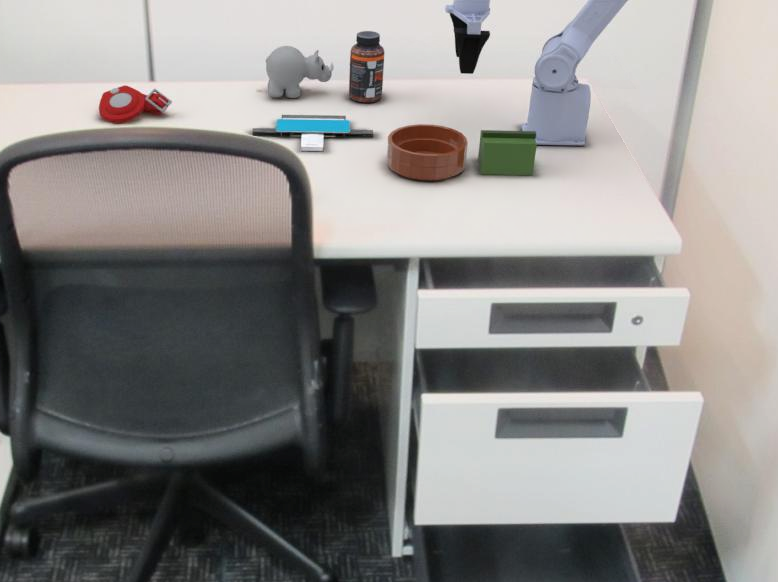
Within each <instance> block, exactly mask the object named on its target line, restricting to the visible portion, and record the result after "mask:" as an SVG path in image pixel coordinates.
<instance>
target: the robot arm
mask: <svg viewBox="0 0 778 582" xmlns="http://www.w3.org/2000/svg"><path fill="white" fill-rule="evenodd" d="M628 1H629V0H587V2H586V3H585V4H584V5H583V7H582V8H581V9H580V10H579V12H578V13H577V14H576V16H575V17H574V18H573V19H572V20H571V21H570V22H568V24H567V25H566V26H565V27H564V28H563V30H562V31H561V32H559V33H556V34H554V35H553V36H551V37H550V38H549V39H547V40H546V41H545V43H544V44H543V47H542V49H541V53H540V56H539V58H538V59H537V60H536V62H535V64H534V77H533V78H532V85H531V91H530V99H529V107H528V115H527V120H526V121H527V123H525V122H524V123H521V124H520V128H521V131H536V138H535V140H536V143H537V146H539V145H542V146H543V145H544V146H585V145H586V141H585V140H586V134H587V128H588V121H589V115H590V110H591V101H592V100H591V99H592V95H591V94H592V92H591V87H590V85H589V84H586V83H579V79H578V78H577V76H576V72H577V68H578V66H579V64H580V63H581V62H582V60H583V59H584V58H585V56H586V55H587V53H588V51H589V50H590V49H591V46H592V45H593V44H594V42H595V41H596V40H597V38H599V37H600V35H601V34H602V32H603V31H605V29H606V28H607V27H608V25H609V24H610V23H611V22H612V20H613V19H614V18H615V17H616V16H617V14H618V13H619V12H620V11H621V9H623V7H624V6H625V5H626V3H627V2H628ZM452 2H453V3H452V4H446V5H445V7H444V11H445V13H447V14H449V16H450V19H451V22H452V25H453V33H454V49H455V56H456V58H458V66H459V72H460V74H465V75H466V74H468V75H473V74H474V73H475V71H476V67H477V64H478V62H479V58H480V55H481V52H482V50H483V49H484V47H485V45H486V43H487V42H488V41H489V39H490V36H491V32H490V30H482V24H483V22H484V21H485V20H486V19H487V18H488V17H489V15H490V14H491V7H490V6H491V5H490V4H491V0H453V1H452Z"/></svg>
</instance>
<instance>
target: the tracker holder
mask: <svg viewBox="0 0 778 582" xmlns="http://www.w3.org/2000/svg"><path fill="white" fill-rule="evenodd" d="M172 103H173V100H171V99H170V98H169V97H167V96H166V95H164V93H162V92H161V91H160V90H158V89H157V88H153V89H152V90H151V91H150V92H149V93H148V95H147V94H144V93H142V92H141V91H139V90H138V89H136V88H133V87H131V86H129V85H126V84H125V85H122V86H118V87H114V88H112V89H110V90H107V91H104V92H103V93H102V94H101V98H100V100H99V104H98V114H99V116H100V118H101V119H102V120H104V121H105V122H107V123H112V124H122V123H123V124H124V123H128V122H130V121H132V120H134V119H137V117H139V116H140V115H141V114H142V113H146V114H151V115H162V114H163V113H164V112H165V111H166V110H167V109H168V108H169V106H170V105H171V104H172Z"/></svg>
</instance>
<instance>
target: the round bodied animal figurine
mask: <svg viewBox="0 0 778 582" xmlns="http://www.w3.org/2000/svg"><path fill="white" fill-rule="evenodd" d="M265 71H266V74H267V76H268V78H269V79H268V81H267V89H268V94H269V95H268V96H270V97H271V98H280V97H282V96H284V93H285V96H286V97H287V98H289V99H296V98H299V97H300V96H301V87H300V84H301V83H302V82H303V81H304V79H305V78H307V79H308V80H318V81H319V82H321V83H327V82H329V81H330V80H331V78H332V73H333V71H334V63H333V61H330V66H329V65H328V64H326V63H325V62H324V59H323V58H322V57H321V56H320V55H319V50H318V49H317V50H315V52H314V53H313V54H312V55H309V56H305V55H304V54H303V53H302V52H301V51H300V50H299V49H298V48H296V47H294V46H292V45H282V46H279V47H277V48H275V49H274V50H272V51H271V52H270V54H269V55H268V56H267V57H266V59H265Z"/></svg>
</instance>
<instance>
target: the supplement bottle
mask: <svg viewBox="0 0 778 582" xmlns="http://www.w3.org/2000/svg"><path fill="white" fill-rule="evenodd" d="M380 38H381V35H380V33H379V32H376V31H374V30H373V31H372V30H363V31H359V32H357V33H356V39H355V41H356V43H355V44H353V45H352V46H351V48H350V52H349V53H350V54H349V77H348V78H349V79H348V82H349V84H348V96H349V98H350V99H351V100H353V101H355V102H358V103H375V102H377V101H379V100H381V99H382V97H383V86H384V85H383V84H384V70H385V69H384V68H385V67H384V66H385V48H384V47H383V46H382V45H381V44H380V41H381V39H380Z"/></svg>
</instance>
